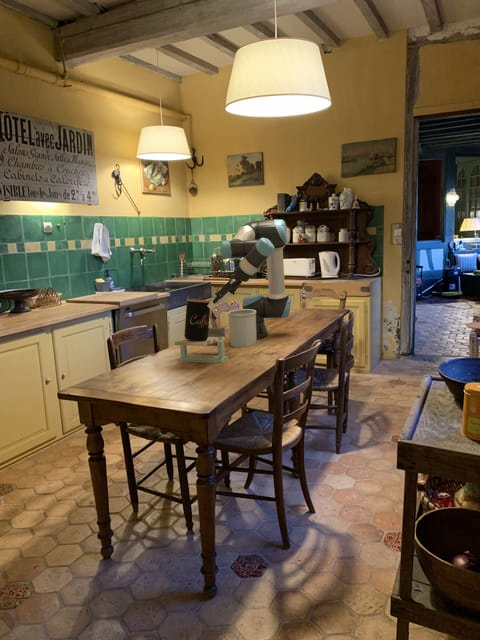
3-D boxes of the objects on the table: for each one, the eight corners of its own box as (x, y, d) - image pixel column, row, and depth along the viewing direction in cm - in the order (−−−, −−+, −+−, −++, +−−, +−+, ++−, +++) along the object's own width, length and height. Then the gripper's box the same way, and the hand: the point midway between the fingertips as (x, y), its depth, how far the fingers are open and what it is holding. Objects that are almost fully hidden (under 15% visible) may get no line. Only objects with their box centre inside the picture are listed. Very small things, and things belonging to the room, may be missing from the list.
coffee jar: (187, 340, 217) (189, 299, 216) (181, 337, 227) (184, 298, 226) (210, 341, 220) (213, 300, 220) (204, 339, 231) (207, 300, 230)
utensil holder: (255, 347, 251) (253, 313, 248) (226, 347, 254) (224, 314, 251) (259, 340, 266) (258, 308, 262) (232, 340, 269) (230, 309, 265)
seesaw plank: (196, 341, 247) (196, 327, 246) (227, 342, 242) (226, 327, 241) (173, 348, 221) (172, 332, 221) (206, 350, 216) (205, 333, 216)
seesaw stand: (184, 356, 241) (183, 337, 239) (227, 358, 234) (226, 338, 232) (177, 361, 233) (176, 341, 231) (221, 363, 226) (220, 342, 224)
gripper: (242, 279, 198) (211, 316, 206) (260, 272, 221) (230, 306, 229) (229, 266, 199) (198, 304, 206) (247, 261, 222) (219, 294, 230)
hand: (215, 305), depth 218 cm, fingers open, 13 cm apart
